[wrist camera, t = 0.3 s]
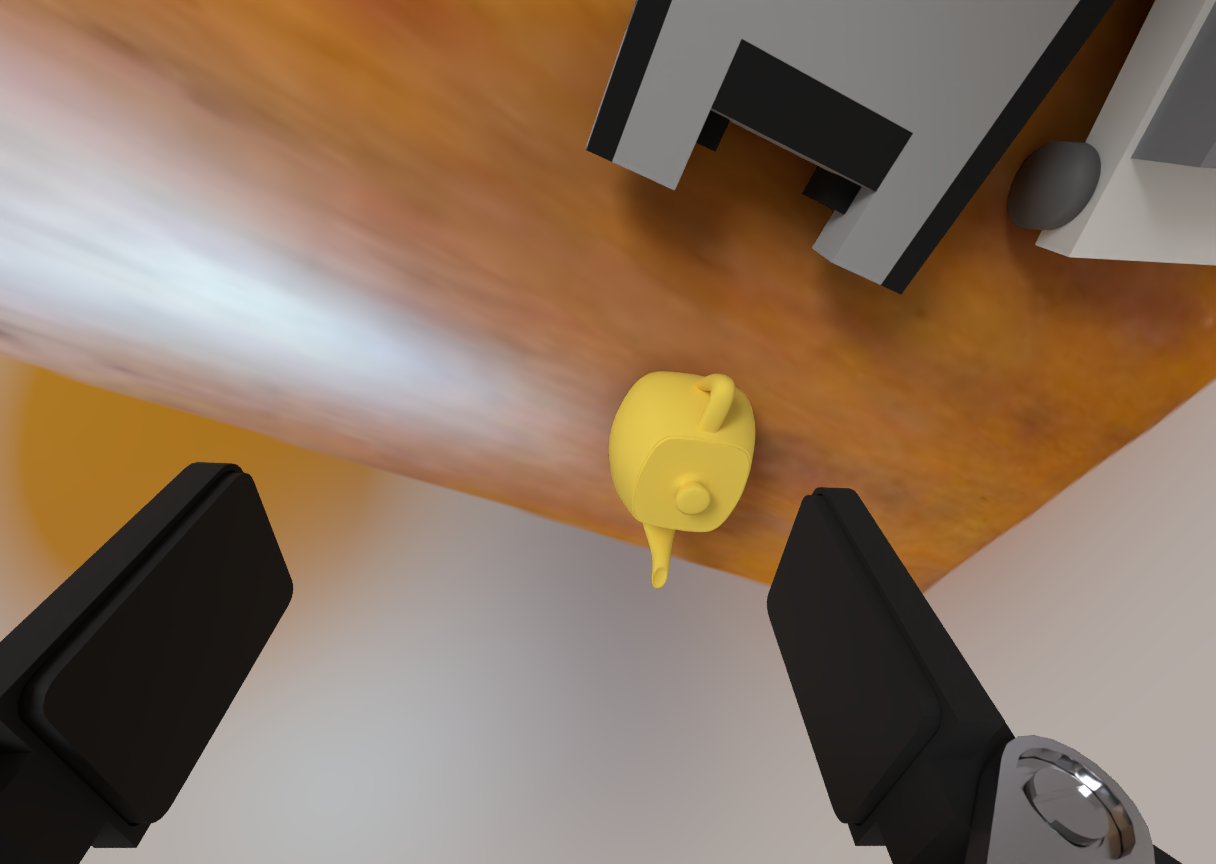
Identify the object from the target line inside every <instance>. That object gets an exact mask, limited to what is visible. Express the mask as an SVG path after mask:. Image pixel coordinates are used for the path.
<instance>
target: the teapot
mask: <svg viewBox="0 0 1216 864" xmlns="http://www.w3.org/2000/svg"><path fill="white" fill-rule="evenodd" d="M754 445H755V421H754V415H753V410H752V406H751V404H750V401H749V399H748V398H747V396H746V394H745V393H744V392H743V391H742V390H740V389H739V388H737V387H736V386H735V384H734V382H733V380H732V379H731V378H730V377H728V376H726V375H723V374H712V375H709V376H706V377H705V376H700V375H695V374H689V373H681V372H672V371H657V372H652V373H649V374H647V375H645V376H643V377H642V378H640V379H639V380H638V381H637V382H636V383H635V384H634V385H633V387H632V388H631V389H630V390H629V392H628V393H627V395H626V397H625V398H624V400H623V402H622V404H621V406H620V407H619V410H618V412H617V414H616V416H615V419H614V422H613V425H612V429H611V433H610V440H609V462H610V470H611V475H612V480H613V483H614V486H615V488H616V491H617V493H618V495H619V497H620V498H621V500H622V502H623V503H624V504H625V506H626V507H627V509H628V510H629V511H630V513H631V514H632V515H633V516H634V517H635V518H636V519H637V520H638V521H640V522H642V523H643V525H644V529H645V532H646V536H647V539H648V542H649V545H650V549H651V553H652V561H653V568H652V584H653V586H654V587H655V588H656V589H659V588H661V587H662V586H663V585H664V583H665V582H666V579H667V576H668V572H669V564H670V556H671V550H672V544H673V539H674V534H675V530H682V531H690V532H709V531H712V530H714V529H716V528H718V527H719V526H720V525H721V524H722V523H723V522H724V521H725V520H726V519H727V518H728V516H729V515H730V514H731V512H732V511H733V509H734V508H735V506H736V505H737V503H738V501H739V499H740V497H741V496H742V493H743V491H744V488H745V485H746V483H747V479H748V476H749V472H750V469H751V464H752V458H753V452H754Z"/></svg>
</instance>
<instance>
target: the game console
mask: <svg viewBox="0 0 1216 864" xmlns="http://www.w3.org/2000/svg"><path fill="white" fill-rule="evenodd" d="M1114 1H1115V0H636V2H635V5H634V8H633V10H632V13H631V16H630V19H629V22H628V25H627V28H626V31H625V34H624V37H623V40H622V43H621V46H620V48H619V51H618V54H617V57H616V60H615V63H614V66H613V69H612V72H611V75H610V78H609V81H608V84H607V86H606V89H605V92H604V95H603V98H602V101H601V104H600V107H599V110H598V113H597V116H596V119H595V122H594V124H593V127H592V130H591V133H590V136H589V139H588V142H587V147H586V150H587V151H590V152H592V153H594V154H596V155H598V156H600V157H603V158H605V159H607V160H609V161H611V162H614V163H616V164H618V165H620V166H622V167H624V168H627V169H629V170H631V171H633V172H635V173H638V174H640V175H642V176H644V177H646V178H648V179H651V180H653V181H655V182H657V183H659V184H661V185H664V186H666V187H668V188H670V189H672V190H675V189H676V186H677V184H678V182H679V180H680V177H681V175H682V173H683V171H684V168H685V166H686V164H687V161H688V159H689V157H690V155H691V152H692V150H693V148H694V146H695V143H698V144H700V145H703V146H705V147H707V148H709V149H711V150H713V151H716V149H717V147H718V145H719V143H720V141H721V138H722V136H723V134H724V132H725V130H726V128H727V126H728V123H729V121H730V122H732V123H734V124H736V125H738V126H740V127H742V128H744V129H746V130H748V131H750V132H752V133H754V134H756V135H758V136H760V137H762V138H764V139H766V140H768V141H770V142H772V143H774V144H776V145H778V146H780V147H782V148H784V149H786V150H788V151H790V152H792V153H794V154H795V155H797V156H799V157H801V158H803V159H805V160H807V161H809V162H811V163H813V164H815V165H817V166H818V167H817V169H816V170H815V172H814V174H813V176H812V177H811V179H810V181H809V183H808V185H807V186H806V188H805V190H804V192H803V193H802V194H804V195H806V196H808V197H810V198H812V199H814V200H816V201H818V202H820V203H821V204H824V205H826V206H828V207H830V208H832V209H834V210H835V211H834V212H833V214H832V215H831V217H830V219H829V220H828V222H827V224H826V225H825V227H824V229H823V230H822V232H821V234H820V235H819V237H818V239H817V240H816V242H815V244H814V245H813V247H812V249H814V250H815V251H816V252H818V253H819V254H821V255H822V256H823V257H825V258H826V259H827V260H829V261H830V262H831V263H834V264H836V265H838V266H840V267H842V268H845V269H847V270H849V271H851V272H853V273H855V274H858V275H860V276H862V277H864V278H866V279H868V280H871V281H873V282H875V283H877V284H879V285H882V286H884V287H886V288H888V289H890V290H892V291H895V292H897V293H899V294H902V293H903V291H904V290H905V288H906V287H907V286H908V284H909V283H910V282H911V280H912V279H913V277H914V276H915V275H916V273H917V272H918V271H919V269H920V268H921V266H922V265H923V264H924V262H925V261H926V260H927V258H928V257H929V255H930V254H931V253H932V251H933V250H934V249H935V247H936V246H937V244H938V243H939V242H940V240H941V239H942V238H943V236H944V235H945V233H946V232H947V231H948V229H949V228H950V227H951V225H952V224H953V222H954V221H955V220H956V218H957V217H958V216H959V214H960V213H961V211H962V210H963V209H964V207H965V206H966V205H967V203H968V202H969V200H970V199H971V198H972V196H973V195H974V194H975V192H976V191H977V190H978V188H979V187H980V185H981V184H982V183H983V181H984V180H985V179H986V177H987V176H988V174H989V173H990V172H991V170H992V169H993V168H994V166H995V165H996V163H997V162H998V161H999V159H1000V158H1001V157H1002V155H1003V154H1004V152H1005V151H1006V150H1007V148H1008V147H1009V146H1010V144H1011V143H1012V141H1013V140H1014V139H1015V137H1016V136H1017V135H1018V133H1019V132H1020V130H1021V129H1022V128H1023V126H1024V125H1025V124H1026V122H1027V121H1028V119H1029V118H1030V117H1031V115H1032V114H1033V113H1034V111H1035V110H1036V108H1037V107H1038V106H1039V104H1040V103H1041V102H1042V100H1043V99H1044V97H1045V96H1046V95H1047V93H1048V92H1049V91H1050V89H1051V88H1052V87H1053V85H1054V84H1055V82H1056V81H1057V80H1058V78H1059V77H1060V76H1061V74H1062V73H1063V71H1064V70H1065V69H1066V67H1067V66H1068V65H1069V63H1070V62H1071V60H1072V59H1073V58H1074V56H1075V55H1076V54H1077V52H1078V51H1079V49H1080V48H1081V47H1082V45H1083V44H1084V43H1085V41H1086V40H1087V38H1088V37H1089V36H1090V34H1091V33H1092V32H1093V30H1094V29H1095V27H1096V26H1097V25H1098V23H1099V22H1100V21H1101V19H1102V18H1103V16H1104V15H1105V14H1106V12H1107V11H1108V10H1109V8H1110V7H1111V5H1112V4H1113V3H1114Z"/></svg>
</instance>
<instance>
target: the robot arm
mask: <svg viewBox="0 0 1216 864" xmlns="http://www.w3.org/2000/svg"><path fill="white" fill-rule="evenodd" d="M292 594H293V583H292V579H291V577H290V574H289V572H288V569H287V566H286V564H285V561H284V559H283V556H282V553H281V551H280V548H279V546H278V543H277V540H276V538H275V536H274V533H273V530H272V527H271V525H270V522H269V520H268V517H267V515H266V512H265V509H264V507H263V504H262V501H261V499H260V496H259V494H258V491H257V488H256V486H255V483H254V481H253V479H252V477H251V476H250V475H249V474H247V473H244V472H243V471H242V469H241V468H240V467H239V466H238V465H236V464H230V463H229V464H228V463H205V462H197V463H192V464H190V465H189V466H187V467H186V468H185V469H184V470H183V471H182V472H181V473H180V474H178V475H177V476H176V477H175V478H174V479H173V480H172V481H171V482H170V483H169V484H168V485H167V486H166V487H165V488H164V489H163V490H161V491H160V492H159V493H158V494H157V495H156V496H155V497H154V498H153V499H152V500H151V501H150V502H149V503H148V504H147V505H145V506H144V507H143V508H142V509H141V510H140V511H139V512H138V513H137V514H136V515H135V516H134V517H133V518H132V519H131V520H130V521H128V522H127V523H126V524H125V525H124V526H123V527H122V528H121V529H120V530H119V531H118V532H117V533H116V534H115V535H114V536H113V537H111V538H110V539H109V540H108V541H107V542H106V543H105V544H104V545H103V546H102V547H101V548H100V549H99V550H98V551H97V552H96V553H94V554H93V555H92V556H91V557H90V558H89V559H88V560H87V561H86V562H85V563H84V564H83V565H82V566H81V567H80V568H78V569H77V570H76V571H75V572H74V573H73V574H72V575H71V576H70V577H69V578H68V579H67V580H66V581H65V582H64V583H63V584H62V585H60V586H59V587H58V589H56V590H55V591H54V592H53V593H52V594H51V595H50V596H49V597H48V598H47V599H46V600H44V601H43V602H42V603H41V604H40V605H39V606H38V607H37V608H36V609H35V610H34V611H33V612H32V613H31V614H30V615H29V616H28V617H26V618H25V619H24V620H23V621H22V622H21V623H20V624H19V625H18V626H17V627H16V628H15V629H14V630H13V631H12V632H11V633H10V634H8V635H7V636H6V637H5V638H4V639H3V640H2V641H1V642H0V864H79V863H80V861H81V860H82V858H83V857H84V855H85V854H86V852H87V851H88V849H89V848H90V846H93V847H94V848H136V847H137V846H138V844H139V843H140V841H141V839H142V837H143V836H144V834H145V833H146V831H147V829H148V828H149V826H150V824H151V823H154V822H156V821H158V820H159V819H161V818H162V817H163V816H164V814H166V812H167V811H168V810H169V808H170V807H171V805H172V803H173V802H174V800H175V799H176V796H177V795H178V793H179V792H180V790H181V788H182V787H183V785H184V783H185V781H186V780H187V778H188V776H189V775H190V773H191V771H192V769H193V768H194V766H195V764H196V762H197V761H198V759H199V757H200V756H201V754H202V752H203V750H204V749H205V747H206V745H207V744H208V742H209V740H210V739H211V737H212V735H213V733H214V732H215V730H216V728H217V727H218V725H219V723H220V721H221V720H222V718H223V716H224V715H225V713H226V711H227V709H228V708H229V706H230V704H231V703H232V701H233V699H234V697H235V696H236V694H237V692H238V691H239V689H240V687H241V686H242V683H243V682H244V680H245V679H246V677H247V675H248V674H249V672H250V670H251V668H252V667H253V665H254V663H255V661H256V660H257V658H258V656H259V655H260V653H261V651H262V649H263V648H264V646H265V644H266V643H267V641H268V639H269V637H270V635H271V634H272V632H273V631H274V629H275V627H276V625H277V624H278V622H279V620H280V618H281V617H282V615H283V614H284V612H285V610H286V608H287V607H288V605H289V603H290V601H291V598H292ZM767 609H768V615H769V618H770V621H771V624H772V627H773V630H774V633H775V636H776V639H777V642H778V645H779V648H780V651H781V654H782V657H783V660H784V663H785V666H786V669H787V672H788V675H789V678H790V681H791V684H792V687H793V690H794V693H795V696H796V699H797V702H798V705H799V708H800V711H801V714H802V717H803V720H804V723H805V726H806V729H807V732H808V735H809V738H810V741H811V744H812V747H813V750H814V753H815V756H816V759H817V762H818V765H819V768H820V771H821V774H822V777H823V780H824V783H825V786H826V789H827V792H828V795H829V798H830V801H831V804H832V807H833V810H834V812H835V814H836V816H837V818H838V819H839V820H840V821H841V822H842V823H848V825H849V829H850V831H851V834H852V837H853V840H854V843H855V846H886V847H887V850H888V853H889V855H890V857H891V860H892V863H893V864H1182V863H1180V862H1179V861H1177V860H1176V859H1174V858H1173V857H1171V856H1170V855H1168V854H1167V853H1165V852H1164V851H1162V850H1161V849H1159V848H1158V847H1156V846H1155V845H1153V844H1152V840H1151V837H1150V833H1149V829H1148V826H1147V825H1146V823H1145V821H1144V819H1143V818H1142V816H1141V814H1140V812H1139V810H1138V809H1137V807H1136V805H1135V804H1134V802H1133V801H1132V800H1131V799H1130V798H1129V796H1128V795H1127V794H1126V793H1125V792H1124V790H1123V789H1122V788H1121V787H1120V786H1119V784H1118V783H1117V782H1116V781H1115V780H1114V779H1112V778H1111V777H1110V776H1109V775H1108V774H1107V773H1106V772H1105V771H1104V770H1102V769H1101V768H1100V767H1099V766H1098V765H1097V764H1095V763H1094V762H1093V761H1091V760H1090V759H1088V758H1087V757H1085V756H1084V755H1082V754H1080V753H1079V752H1078V751H1076V750H1075V749H1073V748H1070V747H1068V746H1066V745H1064V744H1062V743H1060V742H1057V741H1055V740H1053V739H1048V738H1044V737H1040V736H1035V735H1030V736H1018V737H1017V738H1015V737H1014V735H1013V734H1012V732H1011V730H1010V729H1009V727H1008V726H1007V724H1006V723H1005V720H1004V719H1003V717H1002V716H1001V714H1000V713H999V711H998V710H997V708H996V707H995V705H994V703H993V702H992V700H991V699H990V698H989V696H988V694H987V693H986V691H985V690H984V688H983V687H982V685H981V684H980V682H979V680H978V679H977V677H976V676H975V674H974V673H973V671H972V670H971V668H970V667H969V665H968V663H967V662H966V661H965V659H964V657H963V656H962V654H961V653H960V651H959V650H958V648H957V647H956V645H955V643H954V642H953V640H952V639H951V637H950V636H949V634H948V633H947V631H946V630H945V628H944V627H943V625H942V623H941V622H940V620H939V619H938V617H937V616H936V614H935V613H934V611H933V610H932V608H931V607H930V605H929V603H928V602H927V600H926V599H925V597H924V596H923V594H922V593H921V591H920V590H919V588H918V587H917V585H916V583H915V582H914V580H913V579H912V577H911V576H910V574H909V573H908V571H907V570H906V568H905V567H904V565H903V563H902V562H901V560H900V559H899V557H898V556H897V554H896V553H895V551H894V550H893V548H892V547H891V545H890V543H889V542H888V540H887V539H886V537H885V536H884V534H883V533H882V531H881V530H880V528H879V527H878V525H877V523H876V522H875V520H874V519H873V517H872V516H871V514H870V513H869V511H868V510H867V508H866V507H865V505H864V503H863V502H862V500H861V499H860V497H859V496H858V494H857V493H856V492H855V491H854V490H852V489H849V488H824V487H820V488H816V489H815V490H814V492H813V494H812V495H807V496H805V497H804V498H803V500H802V503H801V505H800V508H799V511H798V514H797V516H796V519H795V522H794V525H793V527H792V530H791V533H790V536H789V538H788V541H787V544H786V547H785V549H784V552H783V555H782V558H781V561H780V563H779V566H778V569H777V572H776V574H775V577H774V580H773V583H772V585H771V588H770V591H769V594H768V599H767Z"/></svg>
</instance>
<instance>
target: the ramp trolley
mask: <svg viewBox="0 0 1216 864" xmlns="http://www.w3.org/2000/svg"><path fill="white" fill-rule="evenodd" d="M1008 213H1009V216H1010V219H1011V220H1012V222H1013V223H1014V224H1015V225H1016V226H1017V227H1020V228H1023V229H1037V230H1042V231H1041V233H1040V235H1039V237H1038V239H1037V241H1036V243H1035V245H1036V246H1039V247H1042V248H1045V249H1048V250H1050V251H1053V252H1056V253H1059V254H1061V255H1064V256H1067V257H1074V258H1092V259H1111V260H1129V261H1147V262H1165V263H1183V264H1201V265H1216V0H1155V2H1154V4H1153V6H1152V8H1151V10H1150V12H1149V14H1148V16H1147V18H1146V20H1145V22H1144V24H1143V26H1142V28H1141V30H1140V32H1139V34H1138V36H1137V38H1136V40H1135V42H1134V44H1133V46H1132V48H1131V50H1130V52H1129V55H1128V57H1127V59H1126V61H1125V63H1124V65H1123V67H1122V69H1121V71H1120V73H1119V75H1118V77H1117V79H1116V81H1115V83H1114V85H1113V87H1112V89H1111V91H1110V93H1109V95H1108V97H1107V99H1106V101H1105V103H1104V105H1103V107H1102V109H1101V111H1100V113H1099V115H1098V117H1097V119H1096V122H1095V124H1094V126H1093V128H1092V130H1091V132H1090V134H1089V136H1088V138H1087V140H1086V142H1085V143H1083V142H1068V141H1054V142H1050V143H1048V144H1046V145H1043V146H1042V147H1040V148H1039V149H1037V150H1036V151H1035V152H1034V153H1033V154H1032V155H1030V157H1029V158H1028V159H1027V160H1026V161H1025V162H1024V164H1023V165H1022V166H1021V168H1020V169H1019V171H1018V173H1017V174H1016V176H1015V178H1014V180H1013V183H1012V185H1011V189H1010V192H1009V197H1008Z"/></svg>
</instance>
